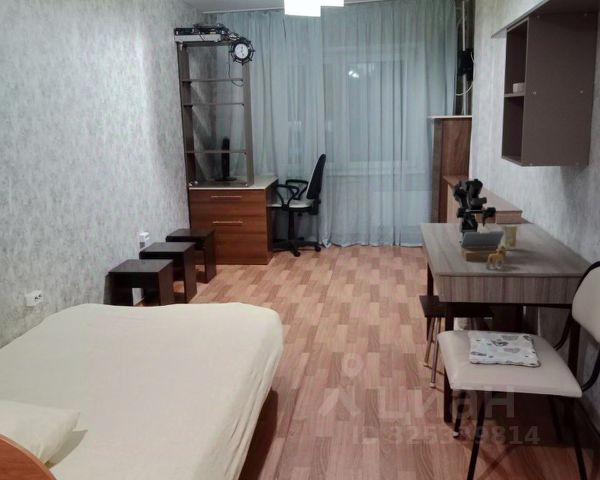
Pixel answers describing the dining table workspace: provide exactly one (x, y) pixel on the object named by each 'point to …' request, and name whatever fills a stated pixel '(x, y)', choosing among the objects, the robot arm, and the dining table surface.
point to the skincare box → (509, 237)
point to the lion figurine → (497, 257)
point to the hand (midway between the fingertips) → (478, 226)
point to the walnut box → (478, 253)
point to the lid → (482, 239)
